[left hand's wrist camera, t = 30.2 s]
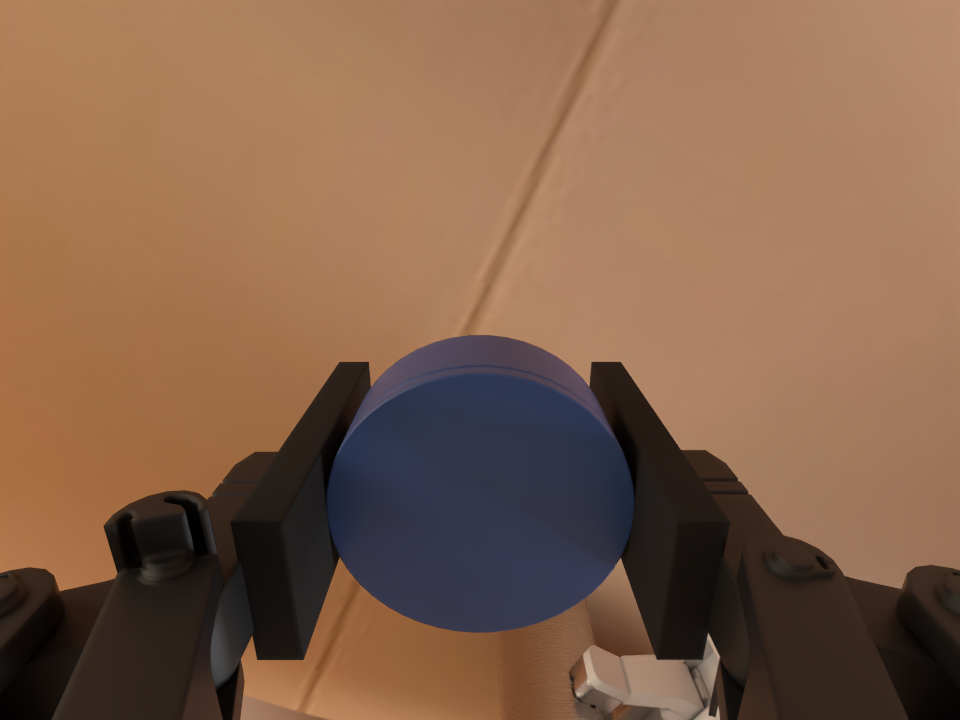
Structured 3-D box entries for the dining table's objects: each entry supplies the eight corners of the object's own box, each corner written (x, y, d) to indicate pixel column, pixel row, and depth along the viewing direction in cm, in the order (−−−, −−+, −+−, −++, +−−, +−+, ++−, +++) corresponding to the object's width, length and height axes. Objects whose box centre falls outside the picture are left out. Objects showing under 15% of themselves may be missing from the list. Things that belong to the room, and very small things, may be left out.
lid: (438, 280, 11) (427, 309, 9) (663, 423, 12) (700, 478, 10) (306, 488, 12) (272, 552, 10) (513, 595, 14) (519, 672, 12)
